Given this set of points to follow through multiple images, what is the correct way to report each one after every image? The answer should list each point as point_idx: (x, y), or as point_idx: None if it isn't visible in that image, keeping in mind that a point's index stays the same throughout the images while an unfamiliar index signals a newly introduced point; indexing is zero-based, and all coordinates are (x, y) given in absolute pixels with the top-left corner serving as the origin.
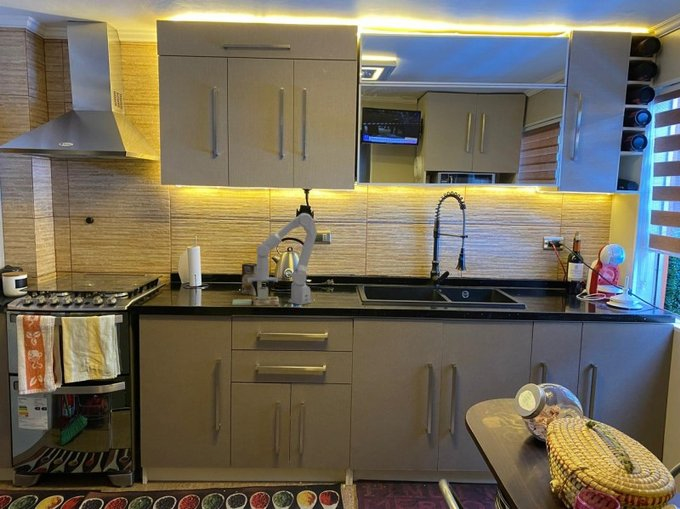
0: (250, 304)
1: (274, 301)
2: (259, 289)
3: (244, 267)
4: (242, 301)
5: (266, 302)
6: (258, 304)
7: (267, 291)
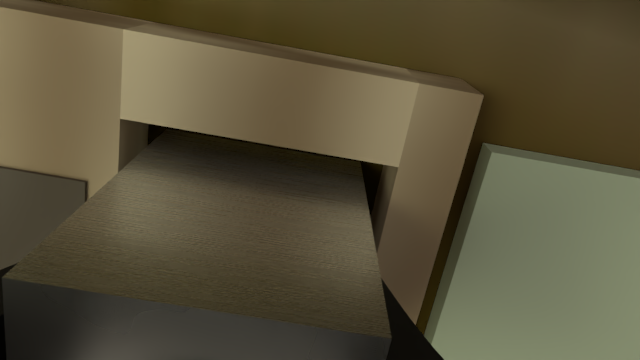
0: (500, 146)
1: (15, 6)
2: (328, 326)
3: None
4: (597, 318)
5: (202, 39)
6: (369, 63)
7: (73, 240)
